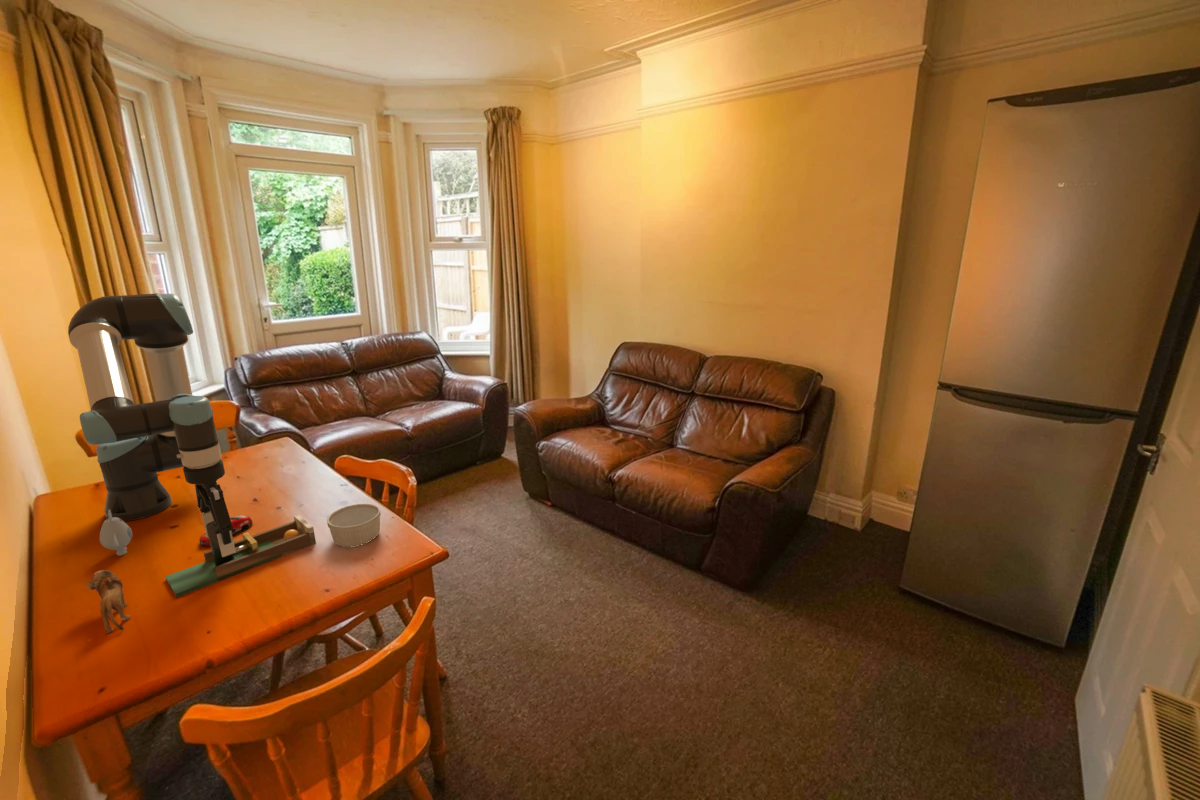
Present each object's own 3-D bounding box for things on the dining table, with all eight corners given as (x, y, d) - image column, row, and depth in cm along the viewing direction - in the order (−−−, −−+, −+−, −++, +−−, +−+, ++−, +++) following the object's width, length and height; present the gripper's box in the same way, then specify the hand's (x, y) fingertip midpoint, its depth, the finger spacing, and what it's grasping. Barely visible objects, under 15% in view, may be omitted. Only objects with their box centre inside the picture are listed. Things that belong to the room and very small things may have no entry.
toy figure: (137, 557, 135) (125, 515, 132) (104, 566, 131) (91, 523, 128) (136, 540, 143) (125, 500, 139) (105, 548, 139) (93, 507, 135)
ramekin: (322, 537, 145) (318, 515, 143) (370, 520, 154) (367, 498, 152) (342, 556, 136) (338, 532, 134) (391, 536, 145) (388, 514, 143)
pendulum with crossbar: (211, 561, 131) (202, 521, 128) (250, 547, 137) (242, 509, 134) (219, 572, 127) (210, 531, 124) (260, 557, 133) (252, 518, 130)
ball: (282, 542, 142) (281, 529, 141) (296, 537, 144) (295, 525, 143) (287, 547, 139) (286, 534, 138) (301, 542, 142) (301, 530, 141)
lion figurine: (92, 609, 116) (81, 573, 114) (123, 596, 120) (113, 562, 118) (107, 639, 107) (95, 601, 105) (141, 624, 111) (130, 588, 109)
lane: (166, 579, 126) (161, 561, 125) (301, 530, 148) (298, 514, 147) (176, 597, 120) (171, 578, 118) (316, 543, 142) (313, 526, 140)
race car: (208, 550, 139) (205, 536, 138) (195, 545, 141) (192, 532, 140) (256, 526, 151) (254, 513, 150) (243, 522, 153) (241, 510, 152)
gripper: (170, 453, 128) (189, 532, 134) (197, 483, 113) (217, 571, 119) (207, 444, 133) (224, 521, 140) (237, 472, 118) (255, 557, 125)
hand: (221, 544), depth 129 cm, fingers open, 11 cm apart
